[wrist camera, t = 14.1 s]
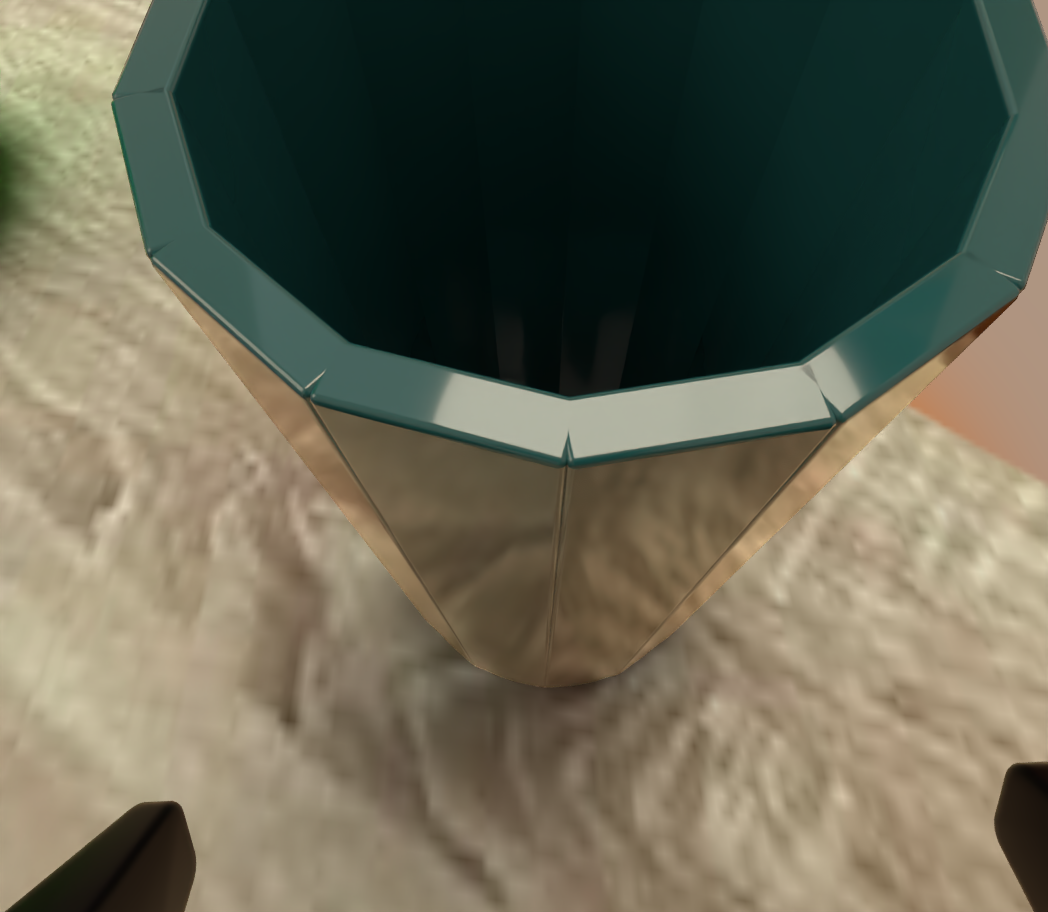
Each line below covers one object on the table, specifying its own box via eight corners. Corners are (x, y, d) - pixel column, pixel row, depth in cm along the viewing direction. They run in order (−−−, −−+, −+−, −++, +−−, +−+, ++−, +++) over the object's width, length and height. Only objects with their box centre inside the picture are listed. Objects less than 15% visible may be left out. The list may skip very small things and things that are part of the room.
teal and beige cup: (468, 742, 15) (237, 664, 3) (372, 464, 17) (60, -104, 6) (750, 619, 16) (1316, 233, 4) (618, 373, 18) (751, -268, 7)
